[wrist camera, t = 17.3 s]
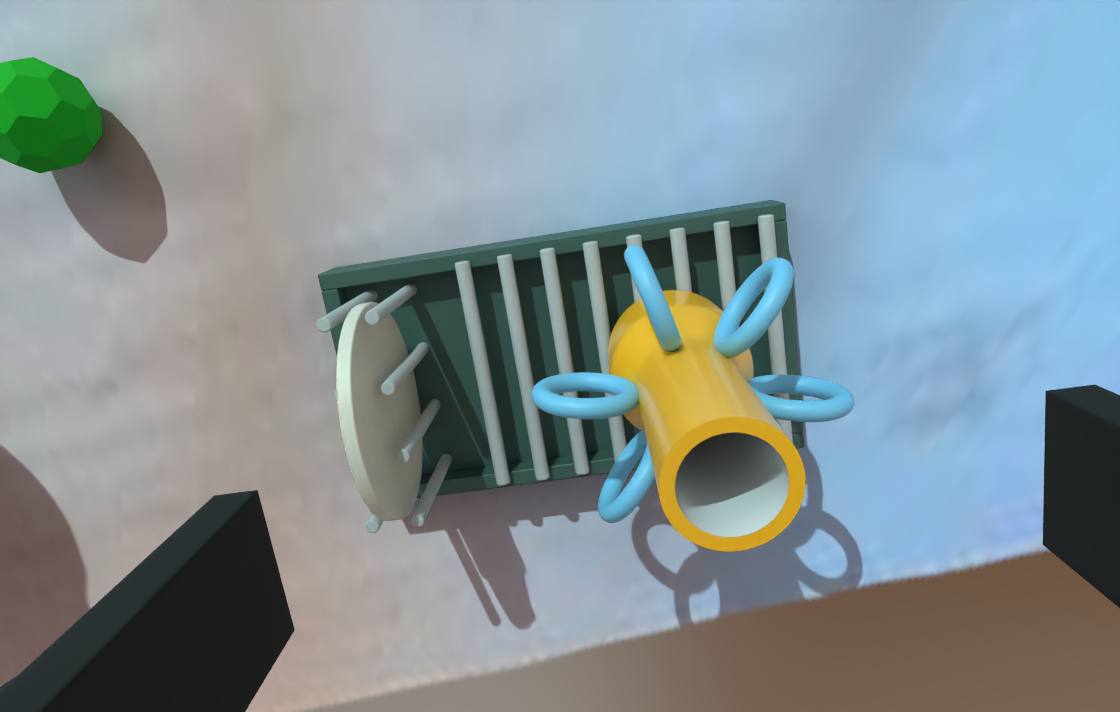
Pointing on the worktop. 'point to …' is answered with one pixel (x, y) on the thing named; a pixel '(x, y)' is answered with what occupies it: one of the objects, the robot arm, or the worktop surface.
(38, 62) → the polyhedron
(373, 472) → the dish rack
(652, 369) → the cylinder
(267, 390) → the worktop surface
